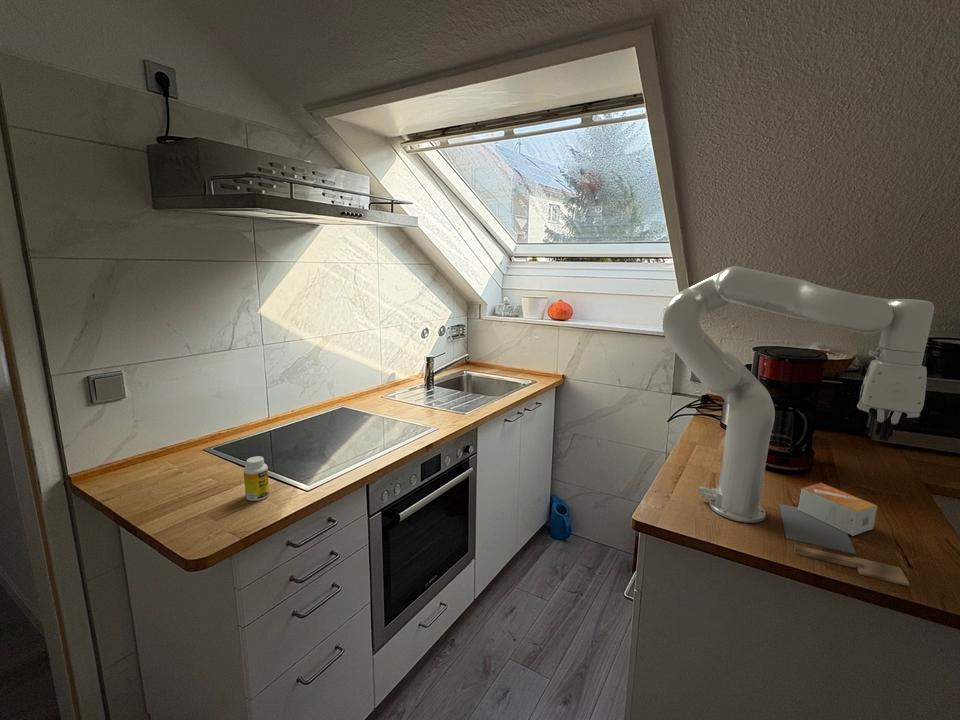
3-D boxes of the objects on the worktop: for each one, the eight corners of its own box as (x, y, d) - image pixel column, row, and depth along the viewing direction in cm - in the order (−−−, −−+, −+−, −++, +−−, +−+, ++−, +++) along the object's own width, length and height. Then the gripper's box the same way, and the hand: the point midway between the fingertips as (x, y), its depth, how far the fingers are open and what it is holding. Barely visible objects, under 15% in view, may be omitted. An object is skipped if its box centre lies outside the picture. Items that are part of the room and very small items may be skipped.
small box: (857, 511, 111) (800, 487, 123) (853, 536, 112) (797, 510, 124) (878, 504, 114) (820, 482, 126) (873, 529, 116) (816, 504, 127)
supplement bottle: (261, 503, 121) (258, 464, 119) (240, 500, 122) (237, 462, 120) (274, 492, 127) (271, 455, 125) (254, 490, 127) (251, 454, 125)
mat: (786, 538, 111) (786, 537, 111) (778, 504, 127) (779, 503, 127) (856, 554, 106) (856, 553, 106) (839, 517, 122) (839, 516, 122)
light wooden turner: (795, 558, 104) (796, 553, 104) (792, 544, 109) (793, 539, 109) (909, 586, 96) (910, 581, 95) (899, 569, 101) (900, 564, 101)
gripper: (860, 356, 104) (843, 437, 107) (952, 365, 97) (931, 451, 101) (852, 350, 110) (837, 427, 114) (937, 358, 104) (918, 439, 108)
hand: (881, 438), depth 108 cm, fingers closed
